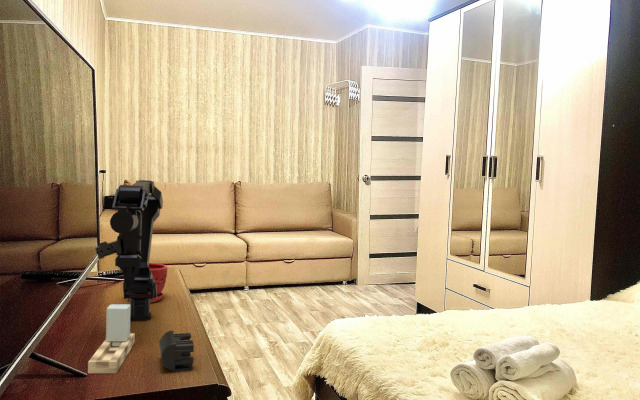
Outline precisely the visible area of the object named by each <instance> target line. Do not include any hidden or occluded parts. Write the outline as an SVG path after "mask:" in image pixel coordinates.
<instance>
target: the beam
mask: <svg viewBox="0 0 640 400" xmlns="http://www.w3.org/2000/svg"><path fill="white" fill-rule="evenodd" d="M135 337H136V336H135V332H130V337H129V338H128V340H127V341H123V342H122V343H121V345H120V346H112V342H113V341H106V339H105V340H104V341H103V342H102V344H100V346H99V347H98V349H97V350H96V351H95V353H94V354H93V355H92V356H91V358H90V359H89V360H88V362H87V374H116V373H117V372H118V371H119V370H120V368H121V366H122V365H123V363H124V361H125V359H126V357H127V356H128V355H129V353H130V351H131V349H132V348H133V346H134V345H135Z"/></svg>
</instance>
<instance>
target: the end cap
mask: <svg viewBox="0 0 640 400" xmlns="http://www.w3.org/2000/svg"><path fill="white" fill-rule="evenodd" d="M159 348H160V349H159V351H160V360H161V363H162V365H163V366H164V367H165V368H167V369H168V370H170V371H171V372H174V373H175V372H187V371H193V369H194V356H191V354H192V353H194V350H195V349H194V348H195V345H194V341H193V340H192V333H190V332H181V333H175V331H174V330H173V329H172V330H169V331H167V332H165V333H164V334H163V335H162V336H161V338H160V340H159Z"/></svg>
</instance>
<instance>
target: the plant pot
mask: <svg viewBox="0 0 640 400" xmlns="http://www.w3.org/2000/svg"><path fill="white" fill-rule="evenodd" d="M149 269H150V271H151V273H152V275H153V279H154V282H155V284H156V289H157V297H156V298H153V299H150V303H155V302H158V301H160V300H161V299H162V298H163V296H164V294H163V293H162V292H163V290H164V289H165V285H166V281H167V277H168V266H167V265H166V264H162V263H158V262H157V263H156V262H155V263H154V262H149ZM150 293H151V292H150Z"/></svg>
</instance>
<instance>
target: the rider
mask: <svg viewBox="0 0 640 400" xmlns="http://www.w3.org/2000/svg"><path fill="white" fill-rule="evenodd" d="M130 307H131V304H130V303H128V304H126V303H123V304H121V303H120V304H118V303H117V304H116V303H115V304H113V303H112V304H109V306H107V308H106V318H105V319H106V321H105V322H106V323H105V324H106V327H105V330H106V332H105V340H106V341H113V342H112V346H120V345H121V343H122V342H123V341H127V340H128V338H129V337H130V333H131V320H130Z"/></svg>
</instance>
